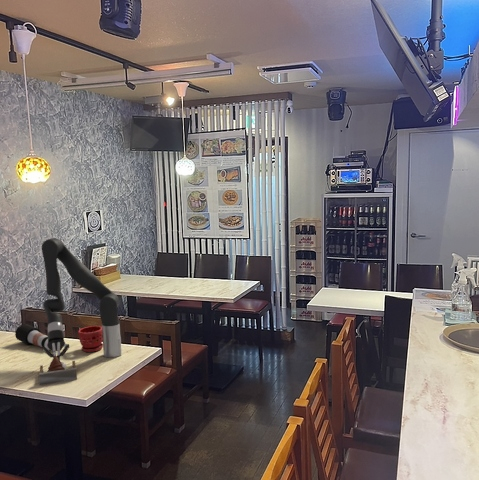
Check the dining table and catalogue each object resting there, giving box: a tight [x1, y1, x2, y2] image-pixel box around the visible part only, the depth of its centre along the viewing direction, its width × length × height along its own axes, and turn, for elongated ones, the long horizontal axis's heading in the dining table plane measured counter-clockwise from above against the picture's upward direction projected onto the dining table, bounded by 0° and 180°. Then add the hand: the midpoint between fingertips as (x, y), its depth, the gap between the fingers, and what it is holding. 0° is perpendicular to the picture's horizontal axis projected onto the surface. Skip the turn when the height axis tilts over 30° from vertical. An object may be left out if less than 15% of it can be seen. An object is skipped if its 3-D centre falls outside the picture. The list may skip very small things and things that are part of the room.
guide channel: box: [38, 360, 78, 386], centre depth 230 cm, size 20×16×5 cm
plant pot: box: [78, 325, 103, 353], centre depth 265 cm, size 13×13×12 cm
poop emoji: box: [46, 355, 67, 372], centre depth 229 cm, size 10×8×9 cm
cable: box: [14, 323, 51, 351], centre depth 272 cm, size 10×34×10 cm, turn 57°
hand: (57, 363), depth 233 cm, fingers closed
